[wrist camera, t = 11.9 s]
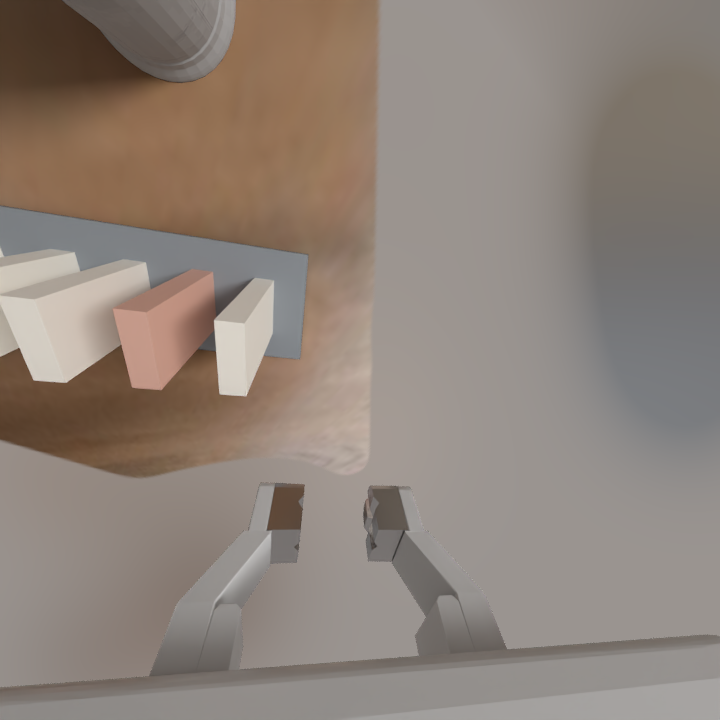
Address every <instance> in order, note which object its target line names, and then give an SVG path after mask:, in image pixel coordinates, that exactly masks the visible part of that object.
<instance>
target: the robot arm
mask: <svg viewBox="0 0 720 720" xmlns="http://www.w3.org/2000/svg"><path fill="white" fill-rule="evenodd" d="M304 486H305V485H304V484H286V483H262V482H261V483H260V485H259V488H258V492H257V496H256V500H255V504H254V508H253V513H252V516H251V520H250V524H249V529H248V531H243V532H242V533H241V534H240V535H239V536H238V537H237V538H236V539H235V540H234V541H233V542H232V544H231V545H230V546H229V547H228V548H227V549H226V550H225V551H224V552H223V554H222V555H221V556H220V557H219V558H218V559H217V560H216V561H215V562H214V563H213V564H212V566H211V567H210V568H209V569H208V570H207V571H206V572H205V573H204V574H203V576H202V577H201V578H200V579H199V580H198V581H197V582H196V583H195V584H194V586H193V587H192V588H191V589H190V590H189V591H188V592H187V593H186V594H185V595H184V596H183V597H182V599H181V600H180V601H179V602H178V603H177V605H176V607H175V610H174V613H173V615H172V618H171V621H170V623H169V626H168V628H167V631H166V634H165V636H164V639H163V641H162V644H161V647H160V649H159V652H158V654H157V657H156V660H155V662H154V665H153V668H152V670H151V673H150V676H145V677H132V678H119V679H106V680H92V681H79V682H65V683H52V684H39V685H25V686H12V687H0V720H720V636H717V635H693V636H680V637H668V638H653V639H640V640H626V641H613V642H600V643H586V644H573V645H561V646H547V647H534V648H520V649H507V648H506V646H505V643H504V641H503V638H502V636H501V633H500V631H499V628H498V626H497V623H496V621H495V618H494V616H493V613H492V610H491V608H490V605H489V603H488V600H487V598H486V595H485V593H484V592H483V591H482V590H481V589H480V587H479V586H478V585H477V584H476V583H475V582H474V581H473V580H472V579H471V577H470V576H469V575H468V574H467V573H466V572H465V571H464V570H463V569H462V568H461V567H460V565H458V563H457V562H456V561H455V560H454V559H453V558H452V557H451V555H450V554H449V553H448V552H447V551H446V550H445V549H444V548H443V547H442V546H441V545H440V543H439V542H438V541H437V540H436V539H435V538H434V537H433V536H432V535H431V534H430V533H429V531H424V529H423V525H422V522H421V518H420V515H419V512H418V508H417V505H416V502H415V498H414V495H413V492H412V489H411V488H410V487H399V486H397V487H396V486H370V487H369V489H368V499H366V501H365V504H364V512H363V518H364V528H365V529H366V531H367V532H368V535H367V538H366V547H367V556H368V561H386V562H388V561H389V562H391V561H392V564H393V566H394V567H395V569H396V570H397V572H398V574H399V575H400V577H401V578H402V580H403V581H404V583H405V584H406V586H407V588H408V589H409V591H410V592H411V594H412V595H413V597H414V599H415V600H416V602H417V603H418V605H419V606H420V608H421V609H422V611H423V613H424V614H425V616H426V618H425V620H424V622H423V623H422V625H421V627H420V628H419V630H418V632H417V633H416V635H415V638H416V643H417V648H418V653H419V656H413V657H399V658H386V659H372V660H360V661H346V662H332V663H320V664H307V665H293V666H279V667H266V668H253V669H239V667H240V662H241V656H242V650H243V636H242V620H241V619H242V618H241V609H242V607H243V606H244V605H245V603H246V601H247V600H248V598H249V597H250V595H251V594H252V592H253V591H254V589H255V588H256V586H257V585H258V583H259V582H260V580H261V579H262V577H263V576H264V574H265V573H266V571H267V570H268V568H269V567H270V564H273V563H296V562H297V557H298V550H299V542H300V532H301V521H302V510H303V498H304Z"/></svg>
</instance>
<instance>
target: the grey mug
mask: <svg viewBox="0 0 720 720" xmlns="http://www.w3.org/2000/svg"><path fill="white" fill-rule="evenodd" d="M62 1H63V2H64V3H66V4H67V5H68V6H70V7H71V8H72V9H74V10H75V11H76V12H78V13H79V14H80V15H82V16H83V17H84V18H86V19H87V20H88V21H90V22H91V23H92V24H94V25H95V26H96V27H98V28H99V29H100V31H101V32H102V33H103V35H104V36H105V37H106V38H107V39H108V40H109V42H110V43H111V44H112V45H113V46H114V47H115V49H116V50H118V51H119V52H120V53H121V54H122V55H123V56H124V57H125V58H126V59H127V60H128V61H130V62H131V63H132V64H134V65H135V66H137V67H138V68H140V69H141V70H142V71H144V72H146V73H148V74H150V75H152V76H154V77H156V78H159V79H163V80H166V81H170V82H181V83H182V82H189V81H195V80H197V79H200V78H202V77H204V76H206V75H207V74H209V73H210V72H211V71H213V70H214V69H215V68H216V66H217V65H218V64H219V63H220V62H221V60H222V59H223V57H224V55H225V53H226V51H227V50H228V48H229V44H230V41H231V38H232V35H233V30H234V23H235V8H236V0H62Z"/></svg>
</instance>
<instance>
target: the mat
mask: <svg viewBox="0 0 720 720" xmlns="http://www.w3.org/2000/svg"><path fill="white" fill-rule="evenodd" d="M0 248H1V251H2V253H3V256H4V257H6V256H12V255H18V254H24V253H29V252H35V251H41V250H47V249H55V250H62V251H69V252H75V255H76V259H77V262H78V266H79V269H80V271H84V270H87V269H91V268H94V267H98V266H101V265H105V264H108V263H112V262H115V261H119V260H123V259H126V260H133V261H140V262H146V266H147V271H148V277H149V282H150V288H151V289H153V288H155V287H157V286H159V285H161V284H163V283H165V282H167V281H169V280H171V279H173V278H175V277H177V276H179V275H181V274H183V273H185V272H187V271H189V270H191V269H197V270H204V271H211V272H213V279H214V293H215V307H216V317H217V316H218V315H219V314H220V313H221V312H222V311H223V310H224V309H225V308H226V307H227V306H228V305H229V304H230V303H231V302H232V301H233V300H234V299H235V298H236V297H237V296H238V295H239V294H240V292H241V291H242V290H243V289H244V288H245V287H246V286H247V285H248V284H249V283H250V282H251V281H252V280H253V279H254V278H260V279H267V280H274V302H273V334H272V336H271V339H270V341H269V343H268V346H267V348H266V350H265V353H264V355H263V356H272V357H282V358H292V359H300V354H301V341H302V329H303V316H304V303H305V291H306V278H307V265H308V254H302V253H295V252H289V251H283V250H277V249H270V248H264V247H258V246H251V245H245V244H239V243H233V242H226V241H220V240H214V239H207V238H201V237H195V236H189V235H182V234H176V233H170V232H163V231H157V230H151V229H145V228H138V227H132V226H126V225H119V224H113V223H107V222H101V221H94V220H88V219H82V218H75V217H69V216H63V215H57V214H50V213H44V212H38V211H31V210H25V209H19V208H13V207H6V206H0ZM198 349H201V350H211V351H216V342H215V330H214V331H213V332H212V333H211V334H210V336H209V337H208V338H207V339H206V340H205V341H204V342H203V344H202V345H201V346H200V347H199V348H198Z"/></svg>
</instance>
